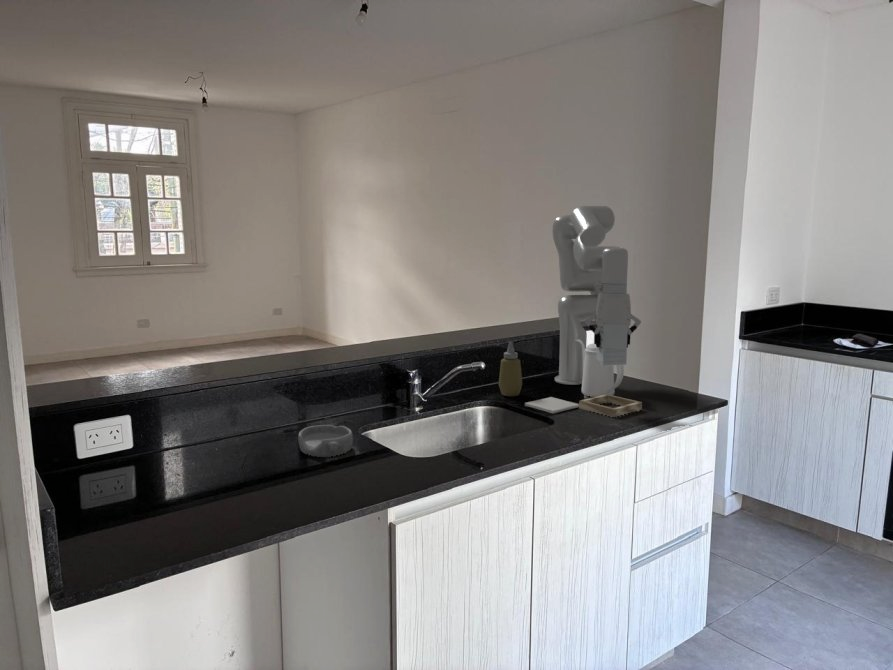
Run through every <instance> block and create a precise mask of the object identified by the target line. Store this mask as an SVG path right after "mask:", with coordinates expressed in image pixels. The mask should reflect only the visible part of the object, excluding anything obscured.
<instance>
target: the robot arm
mask: <svg viewBox="0 0 893 670" xmlns="http://www.w3.org/2000/svg"><path fill="white" fill-rule="evenodd" d="M615 217H616V216H615V214H614V211H613V209H612V208H611V207H610V206H607V205H582V206H578V207H576V208H574V209H573V210H572V212H571V213H570V214H568V215H560V216H558V217H556V218H555V219H554V221H553V223H552V229H551V230H552V239H553V242H554V246H555V247H556V250H557V254H558V255H557V256H558V266H559V280H560V286H561V289H562V290H563V291H566V292H572V293H573V292H576V293H577V292H582V293H583V292H588V293H590V294H568V295H565V296H562V297H561V298H560V299H559V300H558V303H557V314H558V320H559V357H558V358H559V364H558V365H559V366H558V375H556V376H555V377H554V381H555V382H556V383H558V384H562V385H571V386H572V385H573V386H574V385H575V386H576V385H577V386H579V385H580V384H581V385H582V380H583V355H582V345H581V343H580V342H577V341H576V340H581V341H582V342H583V343H584V346H585V349H586V348H587V337H588V336H587V332H586V330H585V328H584V327H583V326H582V325H581V322H585V324H586V325H587V327H588V329H589V330H590V331H591V332H592V333H593V335H594V337H593V343H594V344H596V347H599V342H600V334H599V331H600V330H601V327H602V324H628V330H627V349H628V348H629V345H631V335H632V334H633V333H634V332H635V331H636V330H637V328H638V327H639V326H640V325H641V323H642V320H641V319H639V318H638V317H636V316H635V315H633V314H632V311H631V309H632V305H631V297H630V294H629V293H627V289H628V270H629V269H628V267H629V266H628V265H629V264H628V263H629V251H628V249H626V248H624V247H619V246H613V245H612V246H611V245H610V246H609V245H606V246H605V245H603V246H602V245H601V244H602V243H603V242H604V240H605V239H606V238H605V237H606V235H607V234H608V233H609V232H610V231H611V230H612V229H613V227H614V225H615V219H616V218H615ZM599 245H601V246H599ZM632 321H633V322H634V323H633V324H632V325H631V323H632ZM591 322H595V323H596V325H595V327H594V325H593V324H592V323H591Z"/></svg>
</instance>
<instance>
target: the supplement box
mask: <svg viewBox="0 0 893 670" xmlns="http://www.w3.org/2000/svg"><path fill="white" fill-rule="evenodd" d="M627 330H628V324H602V327H601V330H600V331H599V334H600V342H599V347H597V361H598V362H600V363H601V364H602V365H613V366H616V365H623V366H624V365H625V366H626V365H627V357H628V355H627V354H628V348H627Z"/></svg>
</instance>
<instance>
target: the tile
mask: <svg viewBox="0 0 893 670" xmlns="http://www.w3.org/2000/svg"><path fill="white" fill-rule="evenodd" d="M524 407H529V408H533V409H535V410H539V411H543V412H547V413H550V414H557V413H561V412H563V411H569V410H572V409H576V408H579V403H576V402H572V401H567V400H564V399H560V398H556V397H553V396H549V397H546V398H541V399H536V400H533V401H532V400H531V401H528V402H524Z"/></svg>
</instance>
